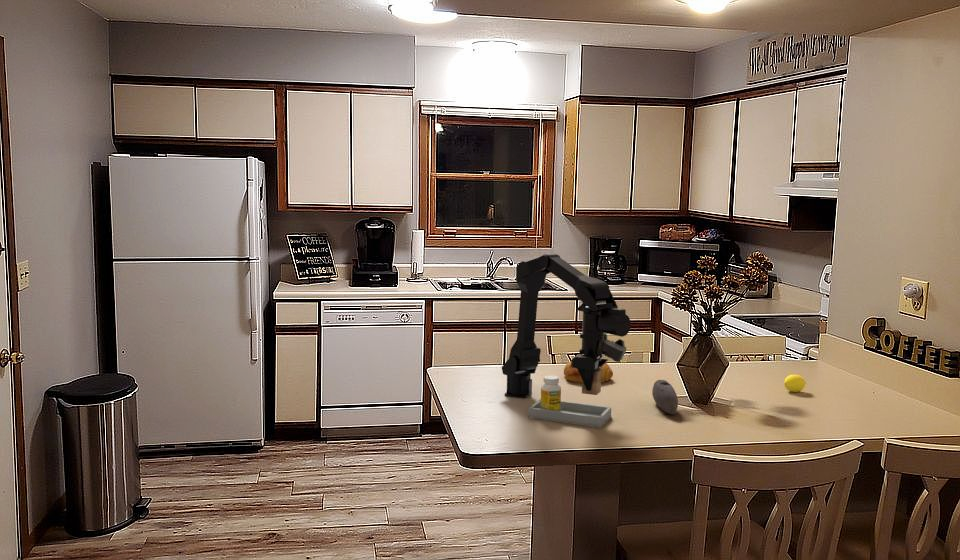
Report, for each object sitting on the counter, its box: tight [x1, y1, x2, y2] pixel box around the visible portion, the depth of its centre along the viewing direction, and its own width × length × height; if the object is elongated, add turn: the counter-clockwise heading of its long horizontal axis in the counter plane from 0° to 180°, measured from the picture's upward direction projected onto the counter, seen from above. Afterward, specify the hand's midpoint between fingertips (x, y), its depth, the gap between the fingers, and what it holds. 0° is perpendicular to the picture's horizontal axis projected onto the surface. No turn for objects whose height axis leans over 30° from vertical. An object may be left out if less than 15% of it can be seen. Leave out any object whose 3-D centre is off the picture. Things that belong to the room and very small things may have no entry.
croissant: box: [563, 360, 614, 384], centre depth 253 cm, size 14×16×8 cm
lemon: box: [783, 374, 807, 393], centre depth 242 cm, size 7×5×5 cm
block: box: [581, 369, 602, 396], centre depth 209 cm, size 4×4×6 cm
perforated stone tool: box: [652, 379, 679, 415], centre depth 221 cm, size 15×5×7 cm, turn 0°
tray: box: [528, 398, 612, 429], centre depth 213 cm, size 20×11×3 cm, turn 67°
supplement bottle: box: [540, 375, 562, 411], centre depth 214 cm, size 5×5×10 cm
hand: (591, 388), depth 210 cm, fingers closed on block, 4 cm apart
